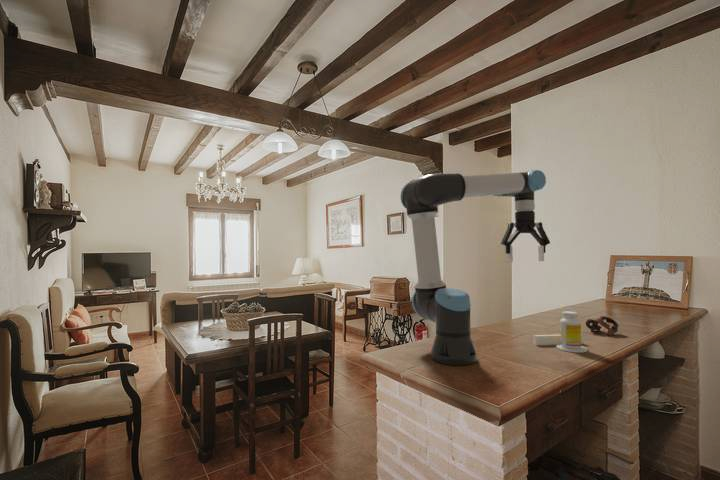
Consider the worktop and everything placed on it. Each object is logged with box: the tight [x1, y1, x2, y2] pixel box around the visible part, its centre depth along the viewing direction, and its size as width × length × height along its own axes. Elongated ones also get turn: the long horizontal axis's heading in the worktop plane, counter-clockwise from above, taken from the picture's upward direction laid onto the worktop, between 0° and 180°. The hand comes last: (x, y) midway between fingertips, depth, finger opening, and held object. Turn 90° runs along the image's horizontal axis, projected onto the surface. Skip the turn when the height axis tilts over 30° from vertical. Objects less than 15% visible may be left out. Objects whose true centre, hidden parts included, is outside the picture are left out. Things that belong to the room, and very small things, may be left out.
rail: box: [532, 333, 584, 346], centre depth 140 cm, size 19×2×4 cm, turn 94°
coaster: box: [555, 344, 589, 354], centre depth 133 cm, size 10×10×1 cm
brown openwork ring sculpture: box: [585, 315, 619, 337], centre depth 155 cm, size 12×10×8 cm
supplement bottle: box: [559, 310, 582, 349], centre depth 134 cm, size 7×7×13 cm
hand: (525, 261), depth 151 cm, fingers open, 13 cm apart
